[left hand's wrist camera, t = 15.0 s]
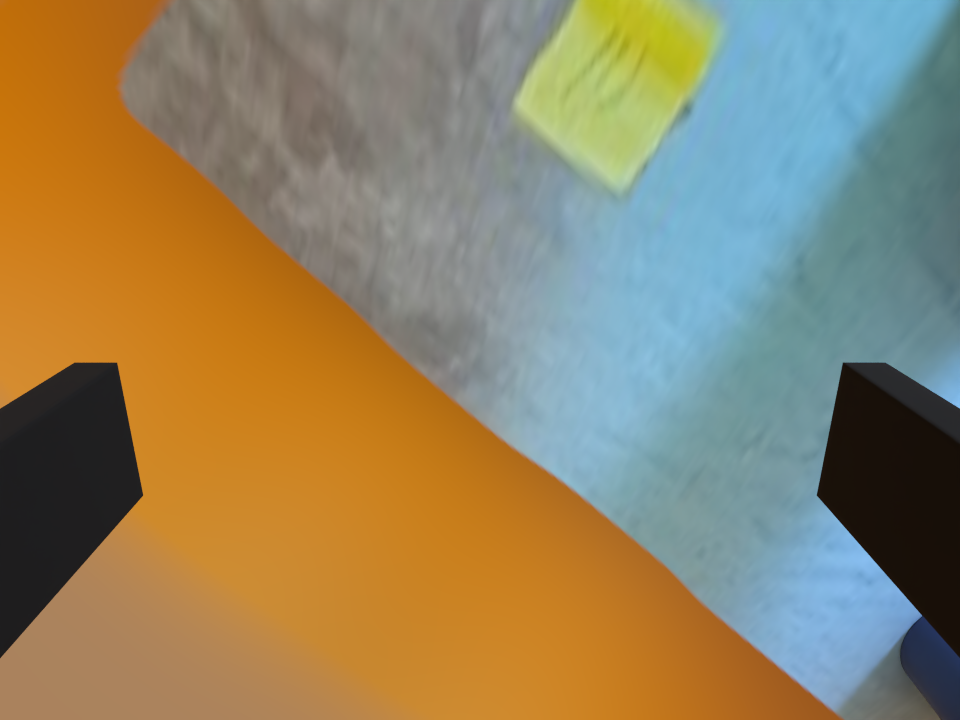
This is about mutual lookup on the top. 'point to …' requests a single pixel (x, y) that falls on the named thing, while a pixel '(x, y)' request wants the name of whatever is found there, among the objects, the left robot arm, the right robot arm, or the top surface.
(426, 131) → the top surface
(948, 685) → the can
